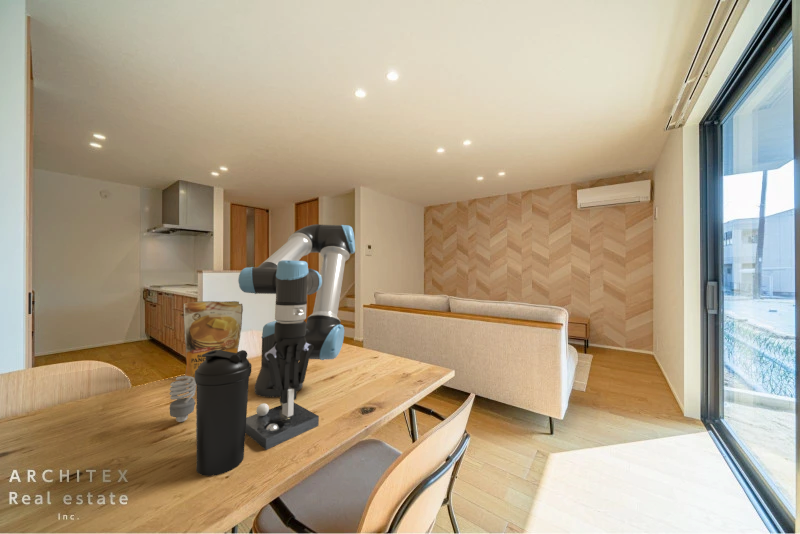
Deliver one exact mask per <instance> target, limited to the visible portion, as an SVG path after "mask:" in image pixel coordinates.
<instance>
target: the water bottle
mask: <svg viewBox="0 0 800 534" xmlns="http://www.w3.org/2000/svg"><path fill="white" fill-rule="evenodd" d="M202 357H206V359H205V361H204V362H202V363H201V364H200V365H199V367H198V369H197V370H196V371H195V383H196V404H195V405H196V406H195V409H196V412H195V415H196V416H195V417H196V418H195V419H196V420H195V426H196V428H195V430H196V433H195V434H196V435H195V438H196V453H195V454H196V455H195V456H196V462H195V463H196V464H195V465H196V472H197V473H198V475H201V476H203V477H215V476H219V475H223V474H226V473H228V472H231V471H232V470H233V469H235V468H237V467H238V466H239V465H241V463H242V461H243V460H244V457H245V445H246V444H245V443H246V433H245V431H246V418H247V417H248V415H247V413H248V400H249V399H248V398H249V384H250V383H249V382H250V376H251V374H252V364H251V362H250V361H249V359H248V358H247V357H248V351H247V350H244V349H240V350H238V352H237V353H233V352H227V351H223V350H212V351H209V352H207V353H205V354H203V355H202Z"/></svg>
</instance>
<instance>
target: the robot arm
mask: <svg viewBox="0 0 800 534" xmlns="http://www.w3.org/2000/svg"><path fill="white" fill-rule="evenodd" d="M355 252H356V240H355V233H354V230H353V227H352V226H351V225H346V224H318V223H317V224H310V225H306V226H304V227H302V228H300V229H298V230H296V231H294V232H293V233H292V234H291V235H289V236H288V239H287V241H286V242H285V243H284V244H283V245H282V246H281V247H279V248H278V249H277V250H276V251H275V252H274V253H272V254H271V255H270V256H269V257H268V258H267V259H266V260H264V261H263V262H262V263H261V264H259V265H258V266H257V267H254V266H251V267H244V268H242V269H241V271H240V273H239V274H238V280H237V282H238V286H239V289H240V290H241V291H242V292H243V293H247V294H254V295H256V294H264V295H265V294H267V295H275V304H274V306H275V308H274V309H275V310H274V311H275V312H274V321H271V322H267V323H266V324H264V326H263V327H262V332H261V333H262V334H261V361H260V362H261V364H260V365H261V366H260V370H259V373H258V375H257V378H256V380H255V384H254V394H255V395H256V396H258V397H263V398H279V403H280V402H281V403H282V414H284V415H285V416H287V417H289V416H292V415H293V410H294V403H295V400H297V393H298V392H299V391H301V390H302V388H303V383H304V382H305V379H306V374H307V370H308V365H309V361H310V360H321V361H325V360H334V359H336V358H337V357H338V356H339V354H340V353H341V350H342V347H343V343H344V338H345V328H344V327H345V326H344V325H343V324H341V323H342V322H341V319H340V318H339V317H338V312H339V307H340V298H341V291H342V285H343V278H344V272H345V265H346V261H348V260H349V259H350V257H351V256H350V255H353V254H355ZM311 253H319V254H320V256H321V257H322V258H323V259H322V263H321V269H320V272H319V271H317V270H315V269H313V268H309V267H308V266H309V264H308V262H307V261H305V260H301V259H302V258H303V257H305V256H308V255H309V254H311ZM315 293H316V294H315ZM313 294H315V295H316V296H315V300H314V306H313V311H312V313H311V314H310V315H309V316H307V309H308V307H307V305H308V303H307V302H308V296H310V295H313ZM305 320H306V321H305Z"/></svg>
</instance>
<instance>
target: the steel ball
mask: <svg viewBox="0 0 800 534" xmlns="http://www.w3.org/2000/svg"><path fill="white" fill-rule="evenodd" d="M278 429H279V426H278V425H277V424H275V423H271V424H269V425H268V426H267V427H266V429H265V430H268V431H274V430H278Z"/></svg>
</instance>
